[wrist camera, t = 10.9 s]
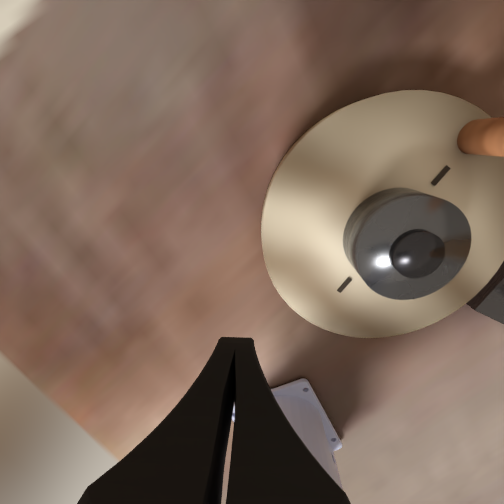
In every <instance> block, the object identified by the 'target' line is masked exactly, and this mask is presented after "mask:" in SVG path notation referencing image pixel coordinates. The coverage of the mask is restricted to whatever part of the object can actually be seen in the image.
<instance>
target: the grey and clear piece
mask: <svg viewBox="0 0 504 504" xmlns="http://www.w3.org/2000/svg"><path fill="white" fill-rule="evenodd" d="M466 304H467V305H469V306H470V307H471V308H473V309H474V310H475V311H477V312H480V313H482V314H484V315H486V316H488V317H490V318H492V319H494V320H496V321H498V322H500V323H503V324H504V261H503V263H502V264H501V266H500V267H499V269H498V271H497V272H496V273H495V274H494V276H493V277H492V278H491V279H490V281H489V282H488V283H487V284H486V285H485V286H484V287H483V288H482V289H481V290H480V291H479V292H478V293H477V294H476V295H475V296H474V297H473V298H472V299H471V300H469V301H468V302H467V303H466Z"/></svg>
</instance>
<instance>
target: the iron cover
mask: <svg viewBox="0 0 504 504" xmlns="http://www.w3.org/2000/svg"><path fill="white" fill-rule="evenodd" d="M470 247H471V229H470V225H469V222H468V220H467V218H466V216H465V215H464V213H463V212H462V211H461V210H460V209H459V208H458V207H457V206H455V205H454V204H452V203H451V202H449V201H446V200H444V199H441V198H438V197H435V196H432V195H429V194H426V193H423V192H420V191H417V190H413V189H409V188H390V189H386V190H382V191H380V192H377V193H375V194H373V195H371V196H370V197H368V198H367V199H365V200H364V201H363V202H362V203H360V204H359V205H358V206H357V208H356V209H355V210H354V211H353V212H352V214H351V215H350V217H349V219H348V221H347V223H346V226H345V229H344V233H343V248H344V252H345V255H346V257H347V259H348V261H349V262H350V263H351V265H352V266H353V267H354V269H355V270H356V271H357V273H358V274H359V275H360V277H361V278H362V279H363V280H364V282H365V283H366V284H367V286H368V287H369V288H371V289H372V290H373V291H374V292H376V293H377V294H379V295H381V296H384V297H387V298H390V299H395V300H411V299H417V298H421V297H424V296H427V295H429V294H432V293H434V292H436V291H437V290H439V289H441V288H442V287H444V286H445V285H446V284H448V283H449V282H450V281H451V280H452V279H453V278H454V277H455V276H456V275H457V274H458V273H459V271H460V270H461V268H462V267H463V265H464V263H465V262H466V260H467V257H468V255H469V251H470Z"/></svg>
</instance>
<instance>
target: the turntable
mask: <svg viewBox="0 0 504 504" xmlns="http://www.w3.org/2000/svg"><path fill="white" fill-rule="evenodd" d="M390 188H409V189H413V190H417V191H420V192H423V193H426V194H429V195H432V196H435V197H438V198H441V199H444V200H446V201H449V202H451V203H452V204H454V205H455V206H457V207H458V208H459V209H460V210H461V211H462V212H463V213H464V215H465V216H466V218H467V220H468V222H469V225H470V229H471V247H470V251H469V255H468V257H467V260H466V262H465V263H464V265H463V267H462V268H461V270H460V271H459V273H458V274H457V275H456V276H455V277H454V278H453V279H452V280H451V281H450V282H449V283H448V284H446V285H445V286H444V287H442V288H441V289H439V290H437V291H436V292H434V293H432V294H429V295H427V296H424V297H421V298H417V299H411V300H395V299H390V298H387V297H384V296H381V295H379V294H377V293H376V292H374V291H373V290H372V289H371V288H369V287H368V286H367V284H366V283H365V282H364V280H363V279H362V278H361V277H360V275H359V274H358V273H357V271H356V270H355V269H354V267H353V266H352V265H351V263H350V262H349V261H348V259H347V257H346V255H345V252H344V248H343V233H344V229H345V226H346V223H347V221H348V219H349V217H350V215H351V214H352V212H353V211H354V210H355V209H356V208H357V206H358V205H359V204H360V203H362V202H363V201H364V200H365V199H367V198H368V197H370V196H371V195H373V194H375V193H377V192H380V191H382V190H386V189H390ZM261 239H262V248H263V256H264V260H265V264H266V267H267V271H268V273H269V276H270V278H271V280H272V282H273V285H274V286H275V288H276V289H277V291H278V293H279V294H280V296H281V297H282V298H283V299H284V301H285V302H286V303H287V304H288V305H289V306H290V307H291V308H292V309H293V310H294V311H295V312H296V313H297V314H299V315H300V316H301V317H303V318H304V319H306V320H307V321H309V322H310V323H312V324H314V325H316V326H318V327H320V328H322V329H324V330H327V331H330V332H333V333H336V334H340V335H345V336H349V337H358V338H382V337H392V336H397V335H401V334H406V333H409V332H413V331H416V330H419V329H422V328H424V327H427V326H429V325H431V324H434V323H436V322H438V321H439V320H441V319H443V318H445V317H447V316H449V315H450V314H452V313H453V312H455V311H456V310H458V309H459V308H461V307H462V306H463V305H465V304H466V303H467V302H468V301H469V300H471V299H472V298H473V297H474V296H475V295H476V294H477V293H478V292H479V291H480V290H481V289H482V288H483V287H484V286H485V285H486V284H487V283H488V282H489V281H490V279H491V278H492V277H493V276H494V274H495V273H496V272H497V271H498V269H499V267H500V266H501V264H502V263H503V261H504V117H499V118H492V117H491V116H489V115H488V114H487V113H485V112H484V111H483V110H481V109H480V108H479V107H477V106H475V105H473V104H471V103H469V102H467V101H465V100H463V99H461V98H458V97H455V96H452V95H449V94H446V93H441V92H434V91H427V90H402V91H396V92H390V93H383V94H380V95H377V96H373V97H370V98H367V99H363V100H361V101H358V102H355V103H352V104H350V105H348V106H345V107H343V108H341V109H339V110H337V111H335V112H333V113H331V114H330V115H328V116H326V117H325V118H323V119H322V120H320V121H319V122H317V123H316V124H315V125H314V126H312V127H311V128H310V129H309V130H307V131H306V132H305V133H304V134H303V135H302V136H301V137H300V138H299V139H298V140H297V141H296V142H295V143H294V144H293V145H292V147H291V148H290V149H289V151H288V152H287V153H286V155H285V156H284V157H283V159H282V160H281V162H280V164H279V165H278V167H277V169H276V171H275V172H274V174H273V177H272V179H271V181H270V184H269V186H268V188H267V192H266V196H265V199H264V203H263V209H262V216H261Z"/></svg>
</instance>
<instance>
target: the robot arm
mask: <svg viewBox="0 0 504 504" xmlns="http://www.w3.org/2000/svg"><path fill="white" fill-rule="evenodd" d="M304 388H305V389H304ZM234 401H235V402H234ZM231 420H233V422H234V430H233V441H232V451H231V462H230V471H229V481H228V490H227V499H226V504H351V503H350V501H349V499H348V497H347V495H346V493H345V492H344V491H343V488H342V484H341V480H340V476H339V472H338V468H337V464H336V460H335V456H334V452H333V451H335V450H338V449H340V448H341V447H342V443H341V440H340V438H339V436H338V435H337V433H336V431H335V429H334V427H333V425H332V424H331V422H330V420H329V418H328V416H327V414H326V413H325V411H324V409H323V407H322V405H321V403H320V402H319V400H318V398H317V396H316V394H315V392H314V390H313V389H312V387H311V385H310V383H309V381H308V380H307V379H299V380H296V381H293V382H291V383H288V384H285V385H282V386H279V387H277V388H274V389H270V387H269V385H268V383H267V381H266V379H265V376H264V374H263V371H262V369H261V366H260V364H259V361H258V358H257V355H256V351H255V347H254V340H253V339H252V338H237V337H221V338H220V339H219V341H218V343H217V345H216V347H215V349H214V351H213V353H212V355H211V357H210V359H209V360H208V362H207V364H206V365H205V367H204V368H203V370H202V372H201V373H200V375H199V376H198V378H197V379H196V380H195V382H194V383H193V385H192V386H191V387H190V389H189V390H188V391H187V393H186V394H185V395H184V397H183V398H182V399H181V400H180V402H179V403H178V404H177V405H176V406H175V408H174V409H173V410H172V411H171V412H170V413H169V414H168V415H167V417H166V418H165V419H164V420H163V421H162V422H161V423H160V424H159V425H158V426H157V427H156V428H155V429H154V430H153V431H152V432H151V433H150V434H149V435H148V436H147V437H146V438H145V439H144V440H143V441H142V442H141V443H140V444H138V445H137V446H136V447H135V448H134V449H133V450H132V451H131V452H130V453H129V454H128V455H127V456H125V457H124V458H123V459H122V460H121V461H120V462H118V463H117V464H116V465H115V466H113V467H112V468H111V469H110V470H108V471H107V472H106V473H105V474H103V475H102V476H101V477H100V478H99V479H97V480H96V481H95V482H93V483H92V484H91V485H89V486H88V487H87V489H86V490H85V492H84V494H83V495H82V497H81V498H80V500H79V501H78V503H77V504H221V497H222V485H223V473H224V464H225V457H226V451H227V444H228V438H229V432H230V426H231Z"/></svg>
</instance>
